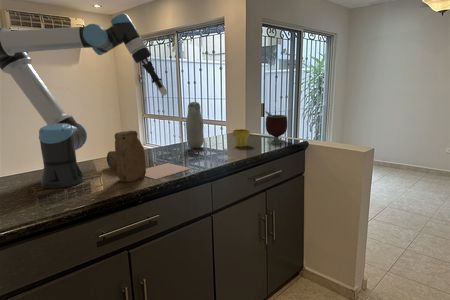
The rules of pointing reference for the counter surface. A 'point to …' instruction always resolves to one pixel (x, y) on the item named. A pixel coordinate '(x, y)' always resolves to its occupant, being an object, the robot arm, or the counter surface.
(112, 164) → the mottled brown rounded slab
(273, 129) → the mate gourd
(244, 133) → the plant pot
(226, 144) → the counter surface
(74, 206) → the counter surface
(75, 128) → the robot arm
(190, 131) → the grey bottle
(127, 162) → the block
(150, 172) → the pad
